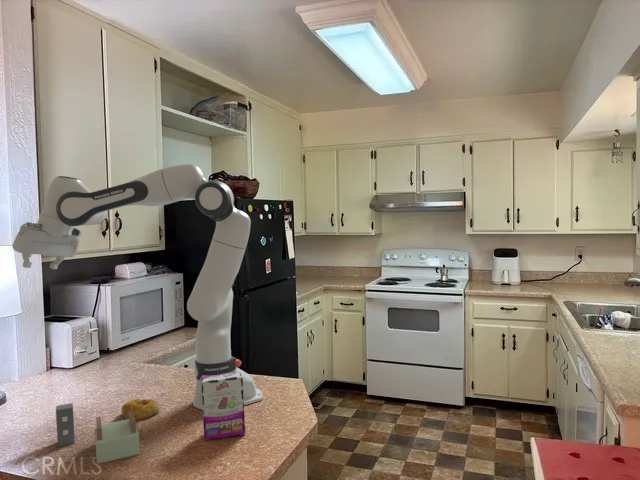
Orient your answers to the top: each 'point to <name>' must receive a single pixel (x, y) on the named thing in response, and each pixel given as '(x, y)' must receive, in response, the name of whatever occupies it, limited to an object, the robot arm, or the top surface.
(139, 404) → the bagel
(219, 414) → the candy bar box
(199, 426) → the top surface
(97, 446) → the bracket shelf
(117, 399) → the top surface
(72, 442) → the tall grey pillar
